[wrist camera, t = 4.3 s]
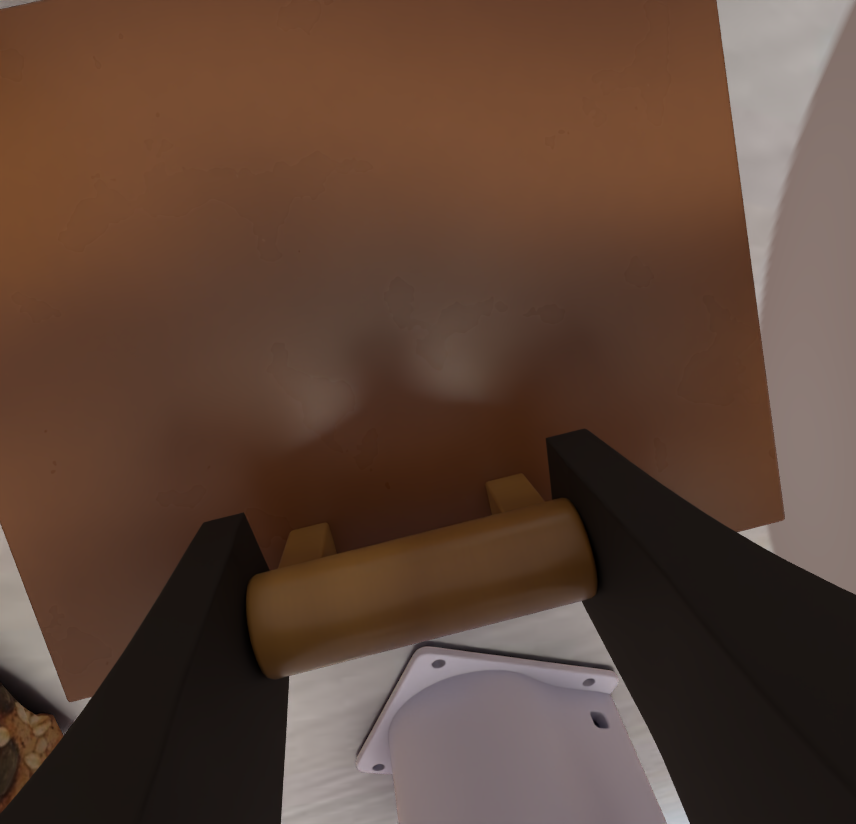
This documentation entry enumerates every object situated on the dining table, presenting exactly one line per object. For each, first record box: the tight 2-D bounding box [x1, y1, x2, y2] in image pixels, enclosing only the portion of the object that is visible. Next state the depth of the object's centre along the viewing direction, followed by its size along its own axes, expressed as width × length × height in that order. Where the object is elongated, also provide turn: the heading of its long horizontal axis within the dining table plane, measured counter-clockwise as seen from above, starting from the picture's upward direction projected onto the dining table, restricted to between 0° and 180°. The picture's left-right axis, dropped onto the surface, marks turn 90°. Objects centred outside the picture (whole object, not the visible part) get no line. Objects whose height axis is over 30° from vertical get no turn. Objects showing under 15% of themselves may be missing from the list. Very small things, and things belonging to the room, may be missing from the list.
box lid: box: [0, 0, 785, 702], centre depth 10 cm, size 11×13×4 cm
